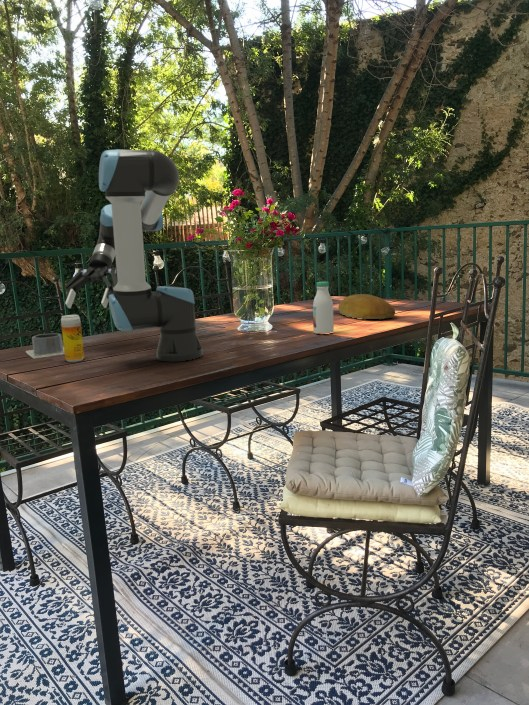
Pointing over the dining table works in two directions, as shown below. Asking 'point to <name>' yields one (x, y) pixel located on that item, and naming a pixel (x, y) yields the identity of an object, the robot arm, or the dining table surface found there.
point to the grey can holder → (46, 345)
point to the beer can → (72, 338)
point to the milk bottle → (322, 309)
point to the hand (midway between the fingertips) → (85, 305)
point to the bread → (366, 307)
